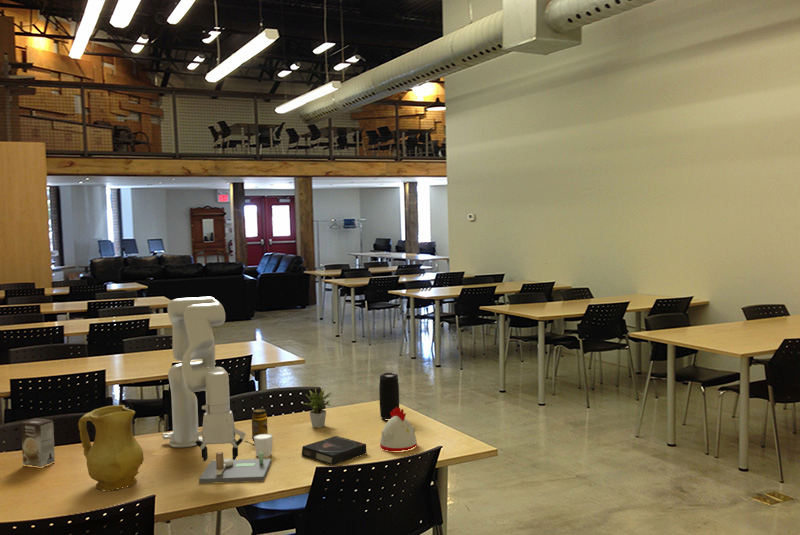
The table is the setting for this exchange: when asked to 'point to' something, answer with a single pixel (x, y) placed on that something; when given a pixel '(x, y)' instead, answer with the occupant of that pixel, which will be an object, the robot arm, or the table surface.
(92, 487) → the table surface
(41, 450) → the coffee box
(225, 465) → the light piece
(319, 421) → the house plant
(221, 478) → the board
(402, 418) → the kitchen timer
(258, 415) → the condiment
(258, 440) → the white cup
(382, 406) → the portable speaker
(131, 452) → the pitcher
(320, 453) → the flat black box
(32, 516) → the table surface
